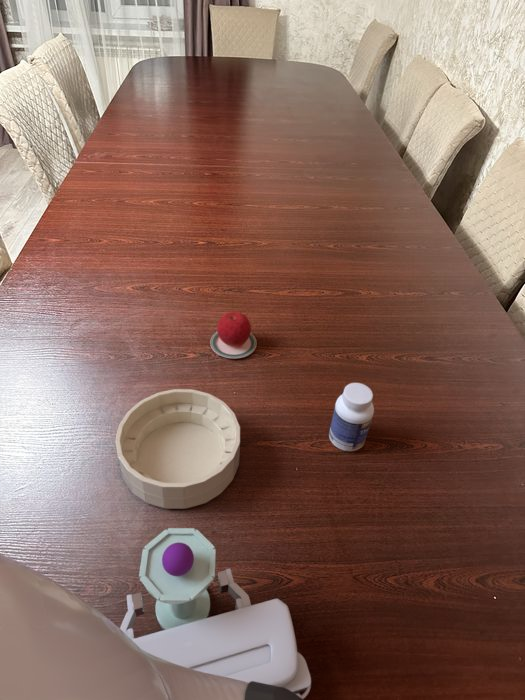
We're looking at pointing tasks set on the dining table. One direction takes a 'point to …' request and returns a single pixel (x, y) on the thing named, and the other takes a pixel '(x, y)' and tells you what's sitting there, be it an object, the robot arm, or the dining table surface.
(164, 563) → the ball
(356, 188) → the dining table surface
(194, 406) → the bowl
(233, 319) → the apple
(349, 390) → the pill bottle
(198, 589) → the pedestal stand
